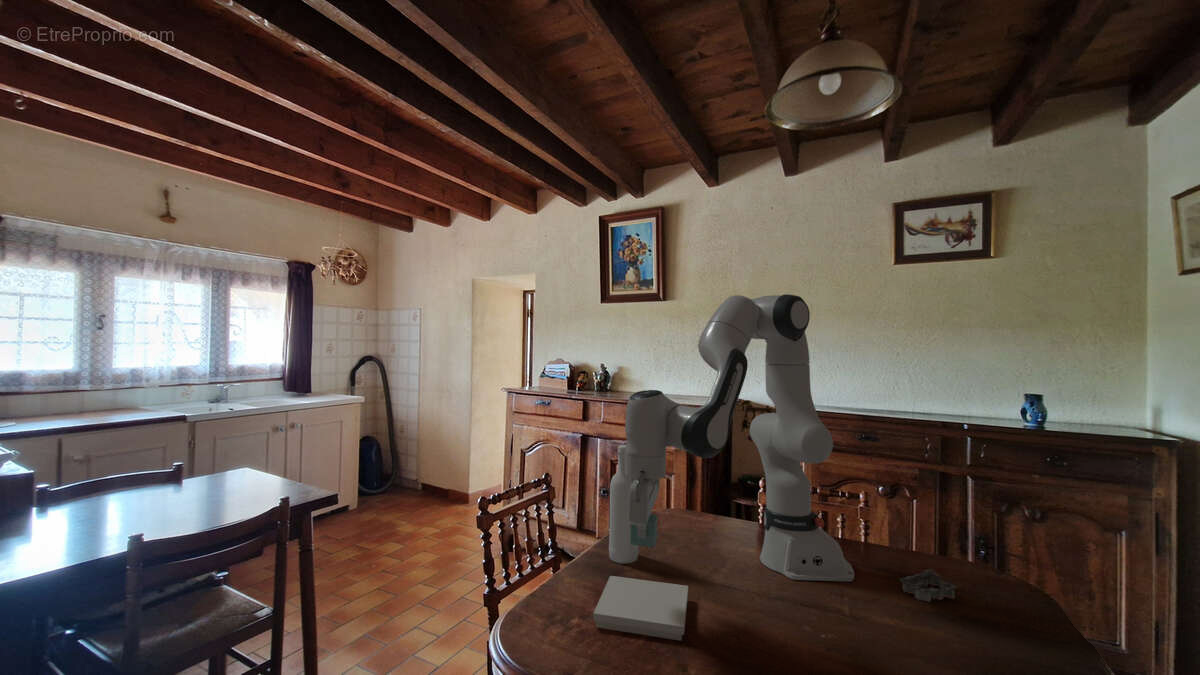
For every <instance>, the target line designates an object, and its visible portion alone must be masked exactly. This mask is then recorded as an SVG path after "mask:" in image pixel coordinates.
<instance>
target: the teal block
mask: <svg viewBox="0 0 1200 675" xmlns="http://www.w3.org/2000/svg"><path fill="white" fill-rule="evenodd" d="M646 528H647V535H646V538H645V539H642V538H638V536H637V525H634V524H631V545H638V547H639V546H641V547H649V548H655V546H656V543H657V539H658V514H652V513H651V514H650V517H649V520H648V522H647V527H646Z"/></svg>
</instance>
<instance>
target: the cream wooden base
mask: <svg viewBox="0 0 1200 675" xmlns="http://www.w3.org/2000/svg"><path fill="white" fill-rule="evenodd" d="M688 596H689V585H685V584H684V585H683V584H676V583H671V582H670V583H668V582H660V581H654V580H653V581H652V580H648V579H647V580H646V579H639V578H637V579H636V578H631V577H630V578H629V577H624V576H623V577H622V576H615V575H610V576H609V578H608V580H607V582H606V584H605V586H604V588H603V591H602V594H601V596H600V597H599V600H598V602H597V605H596V607H595V608H594V611H593V614H592V616H593V617H592V618H593V622H595V625H596V626H595V627H596V628H598V629H605V630H611V631H618V632H625V633H629V634H637V635H642V636H648V637H656V638H660V639H661V638H662V639H668V640H675V641H682V640H683V636H684V635H685V627H686V616H687V607H688Z"/></svg>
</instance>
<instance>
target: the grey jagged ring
mask: <svg viewBox="0 0 1200 675" xmlns="http://www.w3.org/2000/svg"><path fill="white" fill-rule="evenodd" d="M898 580H899V581H900V582H902V584H901V585H902V588H901V589H903V590H904V591H906V592H912V593H915V595H914V599H915V598H918V599H922V600H926V601H931V602H932V599H931V597H935V598H938V599H943V600H944V597H943V595H947V596H950V597H955V598H956V594H955V592H956V591H955V589H959V587H958V586H956V585H955V584H954V583H953V584H951V583H950V581H947V580H946V582H944V581H943V579H942V576H941V575H940V574H938V573H936V572H935V571H934V569H933V568H931V569H928V568H927V569H924V570H922V571H921V573H915V574H914V575H908V576H905V577H904V578H903V577H902V578H898ZM926 582H929V583H932V584H938V585H939V588H941V589H939V588H938V587H937V588H936V587H933V586H930V587H929V585H928V584H927V583H926ZM915 584H916V585H915Z"/></svg>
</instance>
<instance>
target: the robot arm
mask: <svg viewBox="0 0 1200 675" xmlns="http://www.w3.org/2000/svg"><path fill="white" fill-rule="evenodd" d="M810 316H811V315H810V309H809V306H808V304H807V302H805V300H804V299H803V298H802V297H801V296H799V295H794V294H787V293H786V294H782V295H777V294H776V295H763V296H761V297H755V298H749V297H747V296H745V295H739V294H738V295H737V294H736V295H732V296H729V297H727V298H726V299H725V300H724V301H723V302H722V303H721V304H720V305H719V307H717V309H716V311H715V312H713V314H712V316H711V317H710V319H709V320H708V322H707V324H705V325H706V326H705V327H704V328H703V331H702V333H701V334H700V337H699V339H698V344H697V348H698V352H699V355H700V356H701V358H702V360H703V361H704V363H706V364H707V366H710V368H712V369H713V370H715V371H716V373H717V374H716V377H715V381H714V383H713V385H712V388H711V391H710V393H709V396H708V399H707V401H706V403H704V404H703V405H701V406H700V407H694V406H688V405H685V404H680V403H679V402H675V401H673V400H671V399H670V398H669V397H667V395H664V393H663V391H661V390H657V389H648V390H646V389H645V390H640V391H636V392H634V393H633V394H631V395H630V397H629V398H628V401H627V403H626V404H627V405H626V410H625V424H624V426H625V427H624V429H625V436H626V444H625V445H626V448H625V475H627V476H629V477H630V482H631V483H632V484H631V488H630V498H629V522H630V524H634V525H637V536H638V538H642V539H645V538H646V535H647V528H646V527H647V522H648V520H649V517H650V514H652V511H653V509H654V506H655V503H656V500H657V498H658V495H659V490H660V482H661V479H663V478H665V477H666V475H667V474H666V473H667V472H666V471H667V470H666V469H667V466H666V464H667V447H673V448H675V449H677V450H681V451H685V452H688V453H689V454H692V455H694V456H697V457H699V458H700V459H711V458H713V457H715V456H717V455H718V454H719V453H721V451H722V450H723V449H724V448H725V447H726V445H727V442H728V439H729V436H730V428H731V421H732V418H733V415H734V412H735V410H736V406H737V403H738V400H739V397H740V394H741V392H742V389H743V385H744V383H745V380H746V375H747V371H748V358H747V357H746V351H747V349H748V347H749V345H750V343H751V340H752V339H754V340H764V341H765V343H766V346H765V347H766V348H765V392H766V395H767V396H768V398H769V399H770V400H771V402H772V403H773V405H774V409H775V411H776V412H767V413H761V414H758V415H756V416H755V417H754V418H753V419H752V421H751V423H750V427H749V435H750V438H751V440H752V441H753V443H754V444H755V446H756V448H757V450H758V453H759V455H760V459H761V463H762V466H763V471H764V475H765V476H764V477H765V490H766V491H765V492H766V494H765V496H766V497H765V500H766V501H765V502H766V505H764V511H763V525H764V528H765V530H764V536H763V537H764V539H763V544H762V549H761V552H760V555H759V560H760V562H761V563H762V565H763V566H766V568H768V569H770V570H772V571H775V572H777V573H780V574H782V575H783V576H785V577H787V578H788V579H791V580H792V581H793V580H795V581H823V582H826V581H827V582H853V581H855V578H856V576H855V570H854V569H853V567H852V565H851V563H850V562H849V561H847V559H845V558H844V553H843V550H842V548H841V546H840V544H839V543H838V542H837V540H835V539H834V538H833V537H832V535H830V534H828V533H827V532H826V531H825V530H824V529H823V528H824V526H825V521H824V520H823V518H822V517H821V516H819V515H818V514H817V513H816V512H815V511H814V510H812V492H811V491H812V485H811V482H810V478H809V477H808V476H807V475H806V473H805V472H804V470H803V468H802V465H801V463H805V464H821V463H823V462H825V461H826V460H827V459H828V458H829V457H830V456H831V453H832V451H833V448H834V440H833V436H832V433H831V432H830V431H829V429H828V428H827V427H826V426H825V425H824V423H823V422H822V420H821V419H820V417H819V414H818V413H817V412H818V411H817V410H816V407H815V404H814V401H813V397H812V392H811V389H812V388H811V372H810V371H811V369H810V367H811V366H810V352H809V350H810V349H809V345H808V339H807V335H806V330H807V329H808V326H809V323H810Z"/></svg>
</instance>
